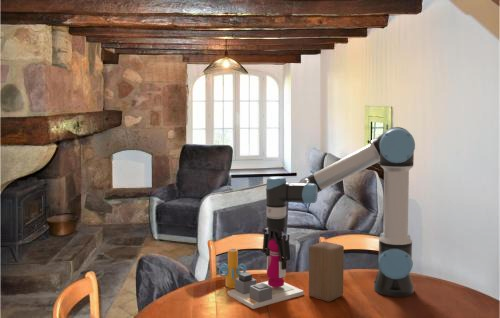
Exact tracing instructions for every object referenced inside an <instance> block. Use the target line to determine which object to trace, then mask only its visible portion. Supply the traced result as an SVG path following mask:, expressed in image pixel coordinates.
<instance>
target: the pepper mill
mask: <svg viewBox="0 0 500 318" xmlns="http://www.w3.org/2000/svg"><path fill="white" fill-rule="evenodd" d="M280 241H281V240H280ZM268 246H269V249H270V255H271V262H270V265H269V267H268V270H267V269H266V276H267V278H268V280H267V281H268V285H269V286H272V287H281V286H283V285H284V282H285V280H284V278H285V277H282V278H279V260H280V256H279V251H278V244H276V243H275V239H271V240H270V241H269V243H268Z"/></svg>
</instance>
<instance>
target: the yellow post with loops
mask: <svg viewBox="0 0 500 318" xmlns="http://www.w3.org/2000/svg"><path fill="white" fill-rule="evenodd" d="M238 252H239V251H238V249H237V248H228V249H227V263H221V265H220V266H219V269H218V275H219V276H220V277H221V278H225V287H227V288H228V289H235V278H239V274H241V273H245V272H247V270H248V268H247V265H246V264H244V263H240V264H239V262H238V261H239V257H238V256H239V255H238V254H239V253H238ZM223 269H225V270H226V271H225V270H223ZM240 270H242V271H240ZM221 272H222V273H223V274H222V273H221Z"/></svg>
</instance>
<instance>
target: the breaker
mask: <svg viewBox="0 0 500 318" xmlns="http://www.w3.org/2000/svg"><path fill="white" fill-rule="evenodd" d="M252 278H253V274H252V273H249V272H248V271H246V272H245V273H241V274H239V280H241V281H243V282H246V281H250V280H252Z"/></svg>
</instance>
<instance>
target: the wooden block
mask: <svg viewBox="0 0 500 318" xmlns="http://www.w3.org/2000/svg"><path fill="white" fill-rule="evenodd" d="M344 250H345V248H344V245H341V244H337V243H333V242H329V241H320V242H317V243H315V244H312V245H310V246H309V247H308V296H309V297H312V298H315V299H318V300H322V301H324V302H328V303H330V302H333V301H334V300H336V299H338V298H340V297H342V296H343V294H344V262H345V261H344V259H345V258H344V257H345V251H344Z"/></svg>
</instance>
